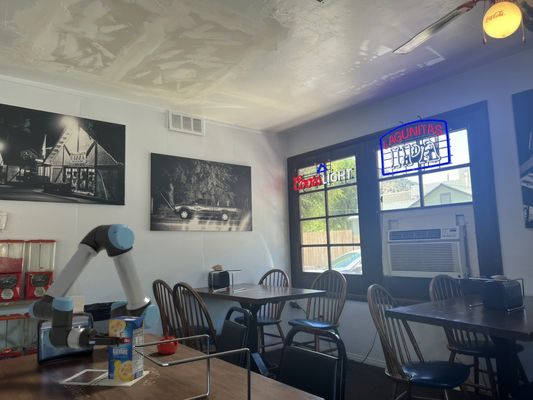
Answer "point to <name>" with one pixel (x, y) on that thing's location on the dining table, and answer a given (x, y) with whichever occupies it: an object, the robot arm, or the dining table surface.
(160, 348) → the pomegranate
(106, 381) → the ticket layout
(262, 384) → the dining table surface
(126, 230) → the robot arm
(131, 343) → the blue cardboard box
